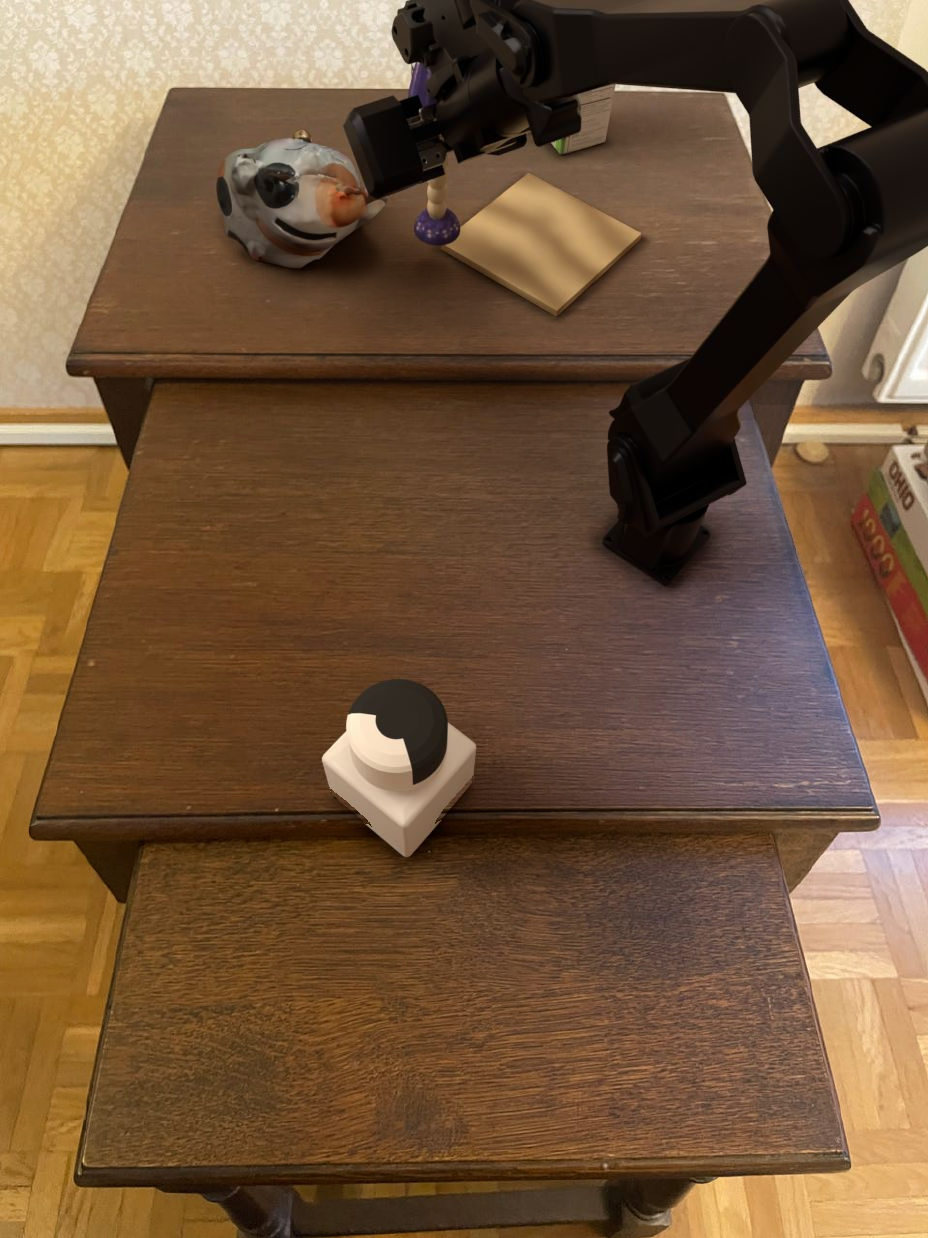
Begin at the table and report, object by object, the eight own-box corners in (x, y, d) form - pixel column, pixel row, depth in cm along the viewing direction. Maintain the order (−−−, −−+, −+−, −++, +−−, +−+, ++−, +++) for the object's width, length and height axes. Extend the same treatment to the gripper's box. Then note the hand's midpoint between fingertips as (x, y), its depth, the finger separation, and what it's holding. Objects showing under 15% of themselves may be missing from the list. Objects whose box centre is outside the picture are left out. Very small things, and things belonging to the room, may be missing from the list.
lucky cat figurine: (373, 185, 99) (406, 106, 85) (358, 298, 97) (389, 236, 84) (222, 144, 94) (232, 55, 81) (205, 262, 93) (212, 190, 80)
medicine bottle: (397, 722, 70) (391, 643, 59) (474, 783, 68) (482, 712, 57) (329, 795, 67) (310, 726, 57) (407, 861, 65) (402, 802, 55)
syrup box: (534, 125, 104) (548, -19, 92) (582, 112, 106) (603, -31, 93) (559, 156, 102) (577, 13, 89) (608, 142, 103) (633, 0, 91)
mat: (556, 316, 90) (557, 310, 90) (440, 249, 95) (440, 242, 94) (640, 239, 96) (642, 233, 95) (527, 179, 100) (528, 172, 99)
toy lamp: (472, 239, 88) (479, 55, 74) (429, 257, 87) (427, 73, 73) (444, 209, 90) (445, 24, 76) (401, 227, 89) (394, 42, 75)
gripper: (579, -69, 69) (490, 17, 83) (343, 0, 64) (291, 79, 78) (626, 97, 72) (533, 152, 86) (405, 175, 67) (345, 220, 81)
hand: (429, 148), depth 83 cm, fingers closed on toy lamp, 3 cm apart
